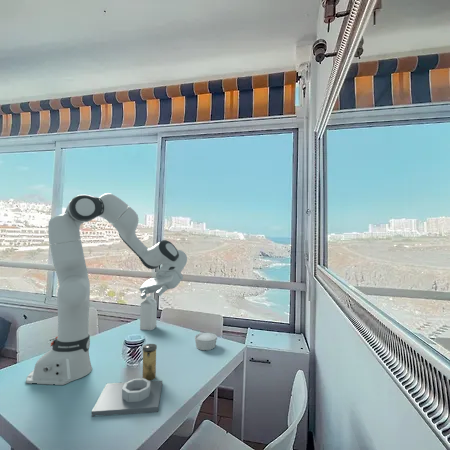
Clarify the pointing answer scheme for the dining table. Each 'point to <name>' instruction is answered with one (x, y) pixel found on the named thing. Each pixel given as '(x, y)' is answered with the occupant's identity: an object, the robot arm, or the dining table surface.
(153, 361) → the cylinder
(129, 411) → the socket base
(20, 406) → the dining table surface
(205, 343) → the ramekin
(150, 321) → the milk carton
